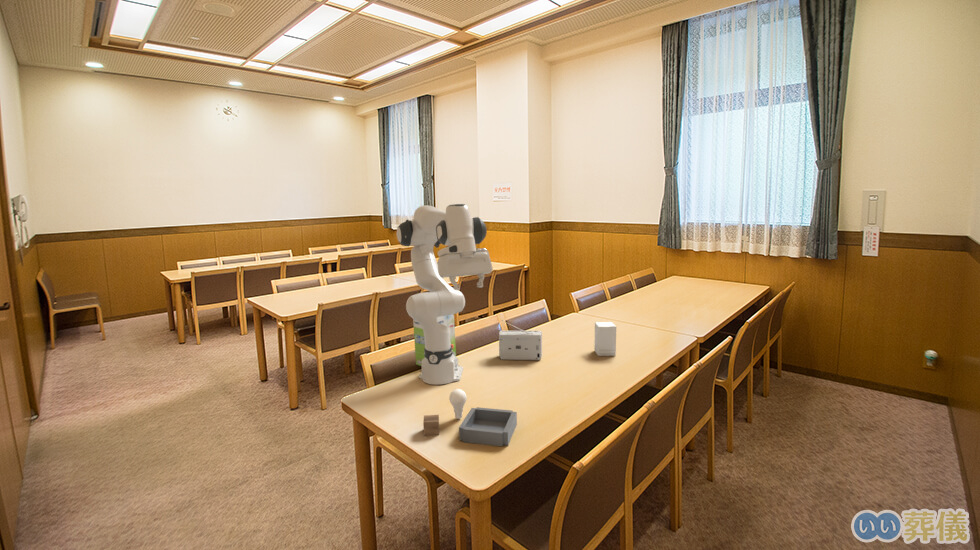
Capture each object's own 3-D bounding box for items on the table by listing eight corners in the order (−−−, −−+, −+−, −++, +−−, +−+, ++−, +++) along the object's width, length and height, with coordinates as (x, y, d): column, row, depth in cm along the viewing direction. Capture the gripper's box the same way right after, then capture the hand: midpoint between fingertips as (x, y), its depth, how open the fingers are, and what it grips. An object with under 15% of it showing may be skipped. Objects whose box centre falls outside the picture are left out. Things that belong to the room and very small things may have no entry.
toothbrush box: (429, 369, 214) (425, 318, 211) (415, 365, 221) (411, 315, 218) (457, 359, 227) (454, 311, 223) (443, 355, 234) (440, 308, 230)
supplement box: (616, 356, 228) (616, 326, 226) (597, 356, 228) (598, 326, 226) (611, 350, 237) (612, 321, 235) (594, 350, 237) (594, 321, 235)
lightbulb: (470, 418, 167) (469, 389, 165) (458, 424, 162) (457, 394, 161) (458, 413, 171) (457, 384, 169) (446, 419, 166) (445, 390, 165)
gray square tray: (472, 418, 167) (472, 406, 166) (517, 423, 163) (517, 411, 162) (458, 441, 151) (458, 428, 150) (507, 447, 147) (507, 433, 146)
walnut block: (424, 429, 160) (423, 415, 159) (439, 428, 160) (438, 414, 160) (424, 436, 155) (423, 422, 154) (439, 435, 155) (438, 421, 155)
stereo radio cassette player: (541, 355, 231) (541, 316, 228) (542, 361, 223) (541, 320, 220) (499, 355, 233) (499, 316, 230) (498, 360, 225) (497, 320, 222)
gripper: (483, 249, 170) (488, 287, 169) (433, 252, 159) (438, 292, 157) (492, 246, 165) (498, 284, 164) (441, 248, 154) (447, 289, 152)
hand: (468, 288), depth 161 cm, fingers open, 8 cm apart
